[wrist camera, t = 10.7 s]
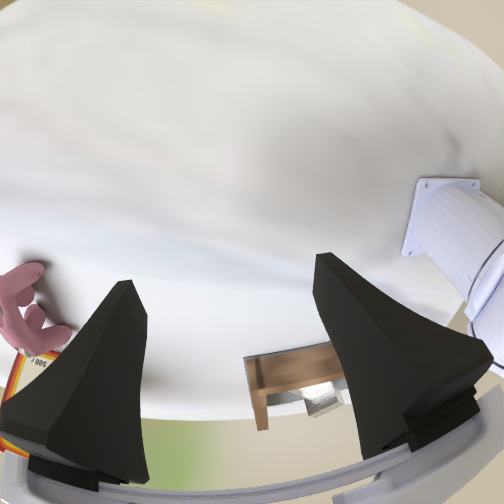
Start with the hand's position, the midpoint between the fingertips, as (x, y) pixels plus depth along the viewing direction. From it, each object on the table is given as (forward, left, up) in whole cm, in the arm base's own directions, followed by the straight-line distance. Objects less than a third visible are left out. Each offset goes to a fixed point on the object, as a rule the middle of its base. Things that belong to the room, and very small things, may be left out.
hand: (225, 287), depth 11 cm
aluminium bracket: (-8, +26, -9) cm, 29 cm away
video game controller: (+20, +7, -10) cm, 23 cm away
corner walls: (-9, +27, -9) cm, 30 cm away
